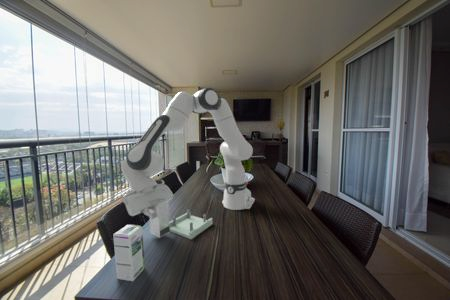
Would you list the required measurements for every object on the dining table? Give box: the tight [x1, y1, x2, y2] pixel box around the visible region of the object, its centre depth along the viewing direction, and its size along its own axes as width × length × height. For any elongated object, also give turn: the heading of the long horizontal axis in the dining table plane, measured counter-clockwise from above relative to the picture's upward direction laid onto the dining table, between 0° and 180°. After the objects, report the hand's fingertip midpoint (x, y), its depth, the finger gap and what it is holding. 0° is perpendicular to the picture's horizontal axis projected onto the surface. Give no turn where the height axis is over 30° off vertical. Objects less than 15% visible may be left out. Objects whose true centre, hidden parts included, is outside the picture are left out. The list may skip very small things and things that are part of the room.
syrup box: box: [113, 224, 146, 282], centre depth 57 cm, size 6×6×14 cm
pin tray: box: [169, 209, 214, 240], centre depth 86 cm, size 15×15×5 cm
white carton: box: [149, 197, 171, 239], centre depth 77 cm, size 5×6×14 cm
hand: (160, 215), depth 76 cm, fingers closed on white carton, 5 cm apart
